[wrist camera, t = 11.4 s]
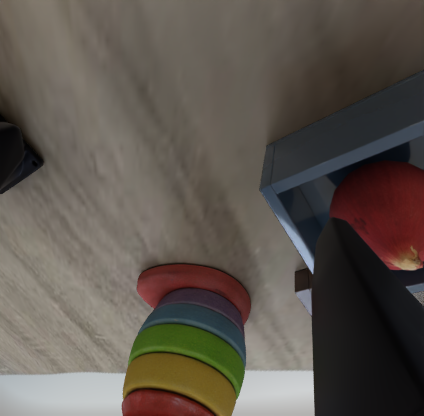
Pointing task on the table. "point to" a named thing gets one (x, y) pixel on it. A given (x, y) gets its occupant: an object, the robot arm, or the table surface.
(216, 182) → the table surface
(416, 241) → the red round fruit
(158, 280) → the stacking bear
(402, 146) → the blue open box
